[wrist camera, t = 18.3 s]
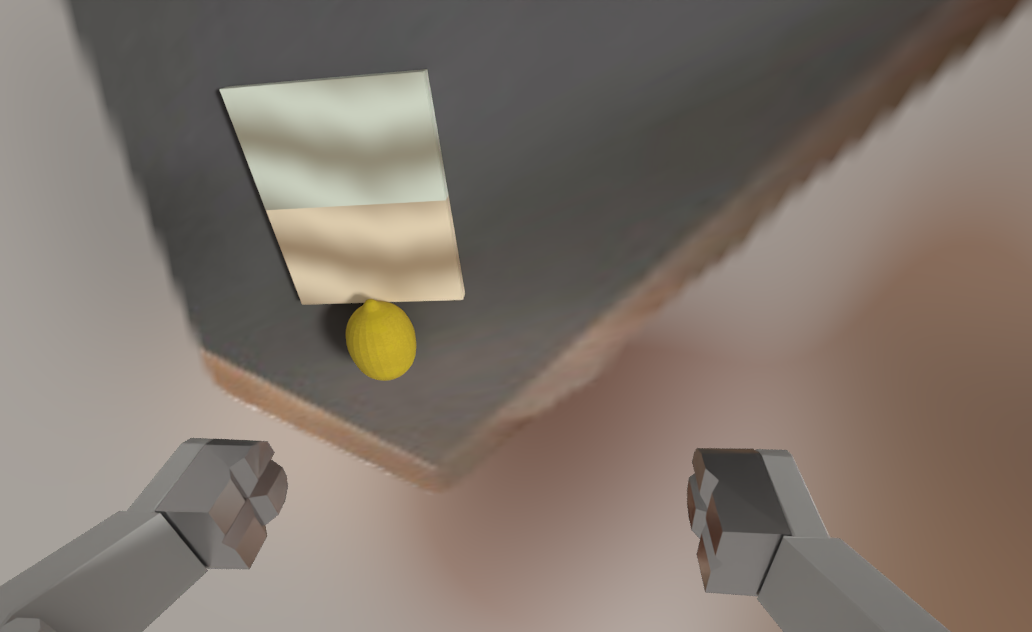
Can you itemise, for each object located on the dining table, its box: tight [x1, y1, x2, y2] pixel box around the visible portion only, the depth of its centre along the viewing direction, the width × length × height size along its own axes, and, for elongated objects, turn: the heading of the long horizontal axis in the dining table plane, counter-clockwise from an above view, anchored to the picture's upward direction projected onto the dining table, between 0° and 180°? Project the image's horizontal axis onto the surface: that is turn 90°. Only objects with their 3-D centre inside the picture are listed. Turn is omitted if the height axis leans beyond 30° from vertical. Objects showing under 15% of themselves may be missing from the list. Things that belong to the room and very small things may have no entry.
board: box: [219, 69, 465, 305], centre depth 37 cm, size 17×14×1 cm
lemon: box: [346, 299, 416, 380], centre depth 42 cm, size 6×6×8 cm
